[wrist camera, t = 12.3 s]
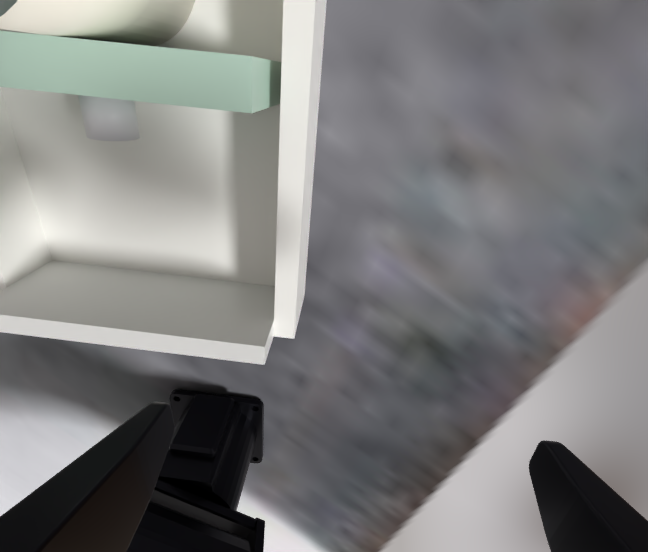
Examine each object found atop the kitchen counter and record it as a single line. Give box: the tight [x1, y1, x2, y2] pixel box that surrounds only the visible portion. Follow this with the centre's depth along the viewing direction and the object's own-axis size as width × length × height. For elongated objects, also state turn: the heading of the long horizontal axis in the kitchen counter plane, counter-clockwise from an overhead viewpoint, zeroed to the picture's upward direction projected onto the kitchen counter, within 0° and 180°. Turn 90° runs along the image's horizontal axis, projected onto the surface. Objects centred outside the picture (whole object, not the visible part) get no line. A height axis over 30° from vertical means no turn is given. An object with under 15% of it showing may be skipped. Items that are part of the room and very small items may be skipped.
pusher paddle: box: [0, 31, 281, 141], centre depth 13 cm, size 3×12×5 cm, turn 85°
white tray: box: [0, 0, 327, 365], centre depth 13 cm, size 22×15×6 cm
